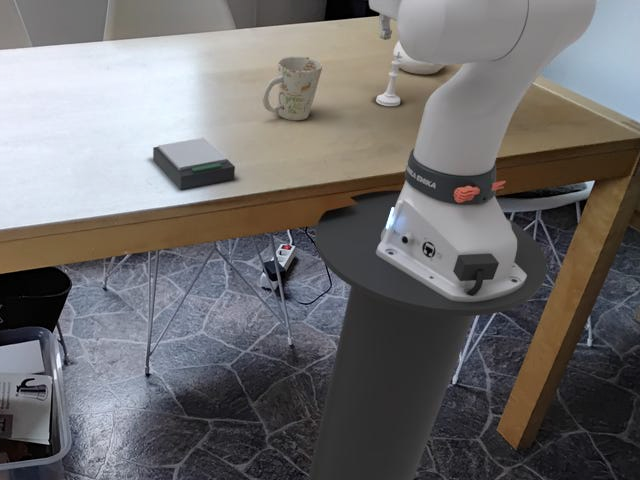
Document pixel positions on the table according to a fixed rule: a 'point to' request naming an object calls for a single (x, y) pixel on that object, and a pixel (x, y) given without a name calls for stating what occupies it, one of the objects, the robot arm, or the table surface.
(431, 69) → the teapot
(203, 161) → the scale
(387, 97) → the chess piece
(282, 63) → the mug
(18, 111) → the table surface
